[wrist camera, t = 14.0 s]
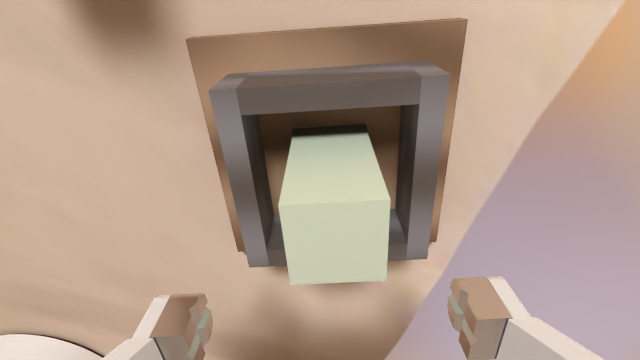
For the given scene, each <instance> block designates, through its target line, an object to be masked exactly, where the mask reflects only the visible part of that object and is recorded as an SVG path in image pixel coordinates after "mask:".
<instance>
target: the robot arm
mask: <svg viewBox="0 0 640 360" xmlns="http://www.w3.org/2000/svg"><path fill="white" fill-rule="evenodd" d="M450 288H451V290H452V292H453V294H452V295H451V296H450V297H449V298H448V314H449V317H450V321H451V323H452V325H453V328H455V329H456V330H457V331H458V332H460V336H459V342H460V344H461V346H462V349H463V351H464V353H465V356H466V358H467V360H490V359H496V360H603V359H602V358H601V357H599V356H597V355H596V354H594V353H593V352H591V351H589V350H588V349H586V348H584V347H583V346H581V345H580V344H578V343H577V342H575V341H573V340H572V339H570V338H569V337H567V336H565V335H564V334H562V333H561V332H559V331H557V330H556V329H554V328H553V327H551V326H549V325H548V324H546V323H545V322H543V321H541V320H539V319H538V318H532V317H531V316H530V315H529V313H528V312H527V310H526V309H525V308H524V306H523V305H522V303H521V302H520V300H518V298H517V296H516V295H515V293H514V292H513V291H512V289H511V288H510V286H509V285H508V284H507V282H506V281H505V279H504V278H503V277H501V276H492V277H476V278H462V279H453V280H452V282H451V286H450ZM206 304H207V298H206V296H205V294H173V295H158V296H157V297H155V298H154V299H153V301H152V303H151V305H150V306H149V308H148V310H147V312H146V313H145V315H144V317H143V319H142V321H141V322H140V324H139V326H138V328H137V330H136V331H135V333H134V335H133V337H132V338H131V339H127V340H125V341H124V342H123V343H121V344H120V345H119V346H118V347H116V348H115V349H114V350H112V351H111V352H110V353H109V354H107V355H106V356H105V357H104V358H102V357H100V356H98V355H97V354H95V353H93V352H91V351H89V350H87V349H84V348H82V347H80V346H77V345H74V344H72V343H69V342H65V341H62V340H58V339H54V338H49V337H44V336H38V335H27V334H10V335H1V336H0V360H203V359H204V356H205V351H204V348H203V346H204V345H205V344H206V343H207V342H208V341H209V340H210V337H211V333H212V326H213V319H212V314H211V311H210V310H209V309H208V308H206Z"/></svg>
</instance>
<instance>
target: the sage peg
mask: <svg viewBox="0 0 640 360" xmlns="http://www.w3.org/2000/svg"><path fill="white" fill-rule="evenodd" d="M291 139H292V141H291V145H290V150H289V155H288V160H287V165H286V170H285V175H284V180H283V185H282V190H281V194H280V199H279V204H278V207H279V213H280V220H281V227H282V233H283V240H284V247H285V253H286V260H287V266H288V273H289V280H290V285H299V284H322V283H345V282H368V281H386V278H387V259H388V240H389V220H390V201H391V199H390V196H389V194H388V191H387V188H386V185H385V182H384V179H383V176H382V173H381V170H380V168H379V165H378V162H377V159H376V156H375V153H374V150H373V147H372V144H371V141H370V139H369V136H368V129H367V126H366V124H364V123H359V124H343V125H326V126H309V127H294V128H293V130H292V135H291Z"/></svg>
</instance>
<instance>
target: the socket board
mask: <svg viewBox="0 0 640 360" xmlns="http://www.w3.org/2000/svg"><path fill="white" fill-rule="evenodd" d="M467 21H468V19H462V18H455V19H441V20H427V21H413V22H399V23H385V24H371V25H357V26H343V27H329V28H315V29H301V30H287V31H273V32H259V33H245V34H231V35H217V36H203V37H192V38H188V39H186V43H187V47H188V51H189V55H190V59H191V63H192V67H193V71H194V75H195V79H196V83H197V87H198V91H199V95H200V100H201V104H202V108H203V112H204V116H205V120H206V124H207V128H208V132H209V136H210V140H211V144H212V148H213V152H214V156H215V160H216V164H217V168H218V172H219V176H220V181H221V185H222V189H223V193H224V197H225V201H226V205H227V209H228V213H229V217H230V221H231V225H232V229H233V233H234V237H235V241H236V245H237V249H238V252H240V251H246V255H247V259H248V264H249V267H267V266H287V260H286V253H285V247H284V240H283V233H282V227H281V220H280V213H279V207H278V204H279V199H280V194H281V190H282V185H283V180H284V175H285V170H286V165H287V160H288V155H289V150H290V145H291V141H292V139H291V135H292V130H293V128H294V127H309V126H326V125H343V124H359V123H364V124H366V126H367V129H368V136H369V139H370V141H371V144H372V147H373V150H374V153H375V156H376V159H377V162H378V165H379V168H380V170H381V173H382V176H383V179H384V182H385V185H386V188H387V191H388V194H389V196H390V199H391V201H390V220H389V240H388V259H387V261H394V260H415V259H427V255H428V247H429V242H436V240H437V233H438V226H439V219H440V212H441V205H442V197H443V190H444V183H445V176H446V169H447V162H448V155H449V148H450V141H451V134H452V127H453V120H454V113H455V106H456V99H457V92H458V84H459V77H460V70H461V63H462V56H463V49H464V42H465V35H466V28H467Z"/></svg>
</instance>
